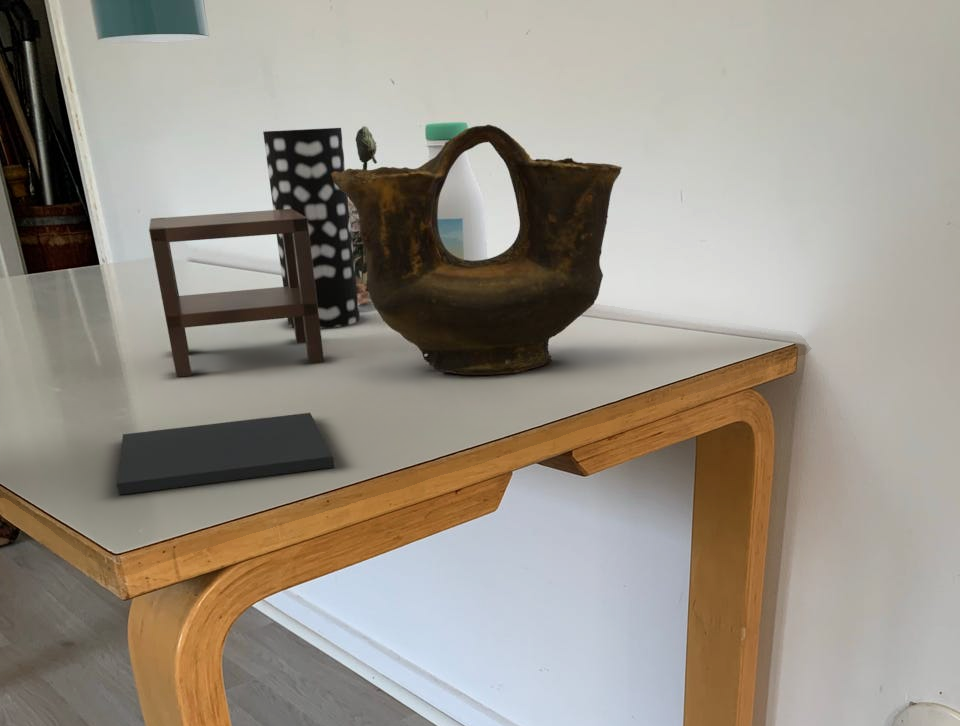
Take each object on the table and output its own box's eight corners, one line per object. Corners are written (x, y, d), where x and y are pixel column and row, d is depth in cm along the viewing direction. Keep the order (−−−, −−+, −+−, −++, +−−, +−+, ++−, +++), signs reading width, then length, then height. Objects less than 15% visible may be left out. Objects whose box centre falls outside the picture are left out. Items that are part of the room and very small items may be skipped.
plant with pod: (381, 295, 131) (367, 125, 122) (401, 308, 121) (387, 125, 112) (321, 301, 129) (301, 129, 120) (336, 314, 119) (316, 128, 110)
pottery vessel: (357, 390, 85) (331, 132, 76) (347, 363, 95) (323, 132, 86) (633, 365, 89) (640, 117, 80) (597, 342, 99) (600, 118, 89)
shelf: (176, 377, 93) (148, 229, 87) (175, 352, 103) (150, 218, 97) (324, 361, 96) (307, 217, 90) (308, 339, 106) (292, 208, 100)
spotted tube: (331, 330, 110) (309, 129, 101) (273, 326, 114) (246, 132, 105) (373, 317, 117) (356, 126, 107) (317, 314, 120) (295, 129, 111)
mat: (118, 495, 64) (116, 483, 63) (125, 444, 74) (122, 434, 74) (334, 467, 67) (333, 456, 66) (311, 422, 77) (310, 412, 77)
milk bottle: (464, 307, 120) (455, 121, 111) (503, 314, 114) (496, 120, 105) (411, 316, 116) (396, 125, 107) (448, 324, 110) (436, 123, 101)
